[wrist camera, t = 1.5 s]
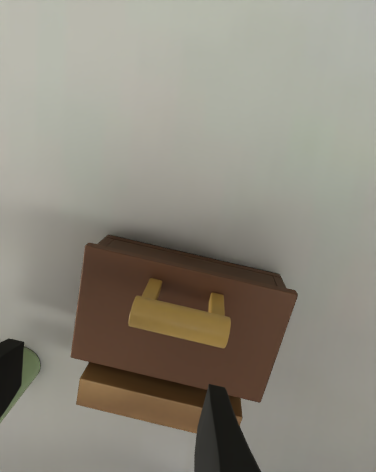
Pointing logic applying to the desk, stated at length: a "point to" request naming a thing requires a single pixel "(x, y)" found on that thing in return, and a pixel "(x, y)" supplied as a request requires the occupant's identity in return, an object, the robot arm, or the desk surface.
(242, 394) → the brown box lid
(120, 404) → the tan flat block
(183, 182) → the desk surface
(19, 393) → the coin roll
